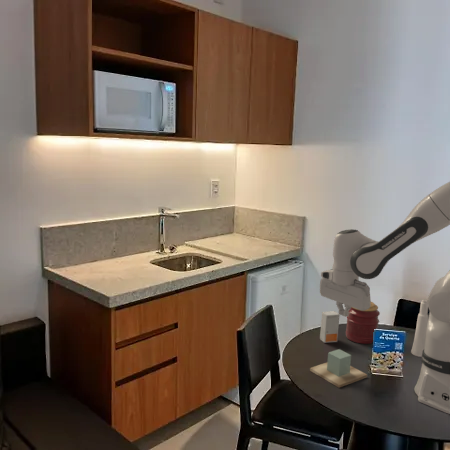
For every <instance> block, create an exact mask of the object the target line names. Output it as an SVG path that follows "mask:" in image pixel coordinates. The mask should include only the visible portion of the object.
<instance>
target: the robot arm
mask: <svg viewBox="0 0 450 450" xmlns="http://www.w3.org/2000/svg"><path fill="white" fill-rule="evenodd" d="M449 226H450V181H448V182H447V183H444V184H442V185H441V186H439V187H438V188H436V189H435V190H433V191H431V192H430V193H429V194H427V195H426V196H425V197H424V198H423V199H422V200H421V199H420V201H419V202H418V203H417V204H416V205H415V206H414V207H413V208H412V209H411V211H410V212H409V213H408V215H407V216H406V218H405V219H404V220H403V222H401V224H400V225H399V226H398V227H397V228H395V229H394V230H392V232H390V233H388V235H386V236H384V237H383V238H382V239H381V240H379V241H378V240H375V239H372V238H369V237H368V236H367V235H364V234H363V233H361V232H360V230H358V229H345V230H341V231H339V232H337V234H335V237H334V240H333V241H334V242H333V249H332V250H333V251H332V256H333V264H332V267H331V269H326V270H324V271H321V272H320V277H321V279H320V283H319V294H320V295H321V296H322V297H323V298H326V299H329V300H332V301H334V302H336V303H335V305H336V307H337V310H338V314H339V315H340V316H343V317H346V318H347V316H348V313H349V310H350V309H351V307H353V308H356V309H359V310H361V311H364V310H368V309H369V308H370V306H371V302H372V300H371V292H370V291H371V289H370V285H368V284H367V282H365V281H361V280H359V279H361V278H362V279H365V280H372V279H375V278H377V277H378V276H379V275H380V274H381V273H382V271H383V270H384V268H385V267H386V265H387V264H388V263H389V261H390V260H392V258H394V257H396V256H397V255H398V254H400V253H401V252H403V251H404V250H405V249H407V248H408V247H409V246H411V245H412V244H414V243H416V242H418V241H420V240H422V239H425V238H427V237H429V236H431V235H434V234H435V233H437V232H440V231H441V230H443V229H445V228H447V227H449ZM427 300H428V311H429V313H428V324H427V329H426V338H425V347H424V350H423V353H422V357H421V360H420V361H421V368H420V373H419V376H418V379H417V382H416V384H415V386H414V388H413V389H414V393H415V394H416V395H417V401H418V402H420V403H421V404H424V405H426V406H429V407H431V408H433V409H435V410H439V411H441V412H444V413H446V414H448V415H450V269H449V271H448V272H447V273H446V274H445V275H444V276H442V277H440V278H439V279H438V280H437V281H435V283H434V285H433V287H432V289H431V290H430V293H429V295H428V298H427Z"/></svg>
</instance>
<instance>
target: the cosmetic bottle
mask: <svg viewBox="0 0 450 450" xmlns="http://www.w3.org/2000/svg"><path fill="white" fill-rule="evenodd" d="M428 312H429V307H428V299H421V302H420V308H419V313H418V315H417V319H416V320H417V321H416V328H415V332H414V339H413V343H412V347H411V350H410V353H411V355H413V356H415V357H419V358H422V353H423V350H424V347H425V338H426V329H427V324H428V319H429V313H428Z"/></svg>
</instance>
